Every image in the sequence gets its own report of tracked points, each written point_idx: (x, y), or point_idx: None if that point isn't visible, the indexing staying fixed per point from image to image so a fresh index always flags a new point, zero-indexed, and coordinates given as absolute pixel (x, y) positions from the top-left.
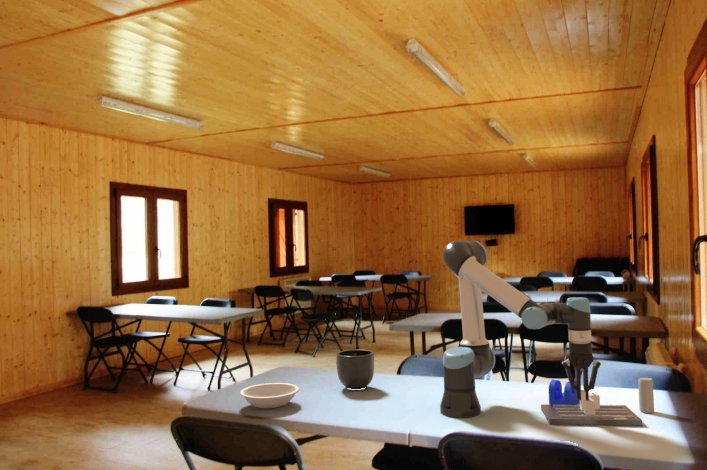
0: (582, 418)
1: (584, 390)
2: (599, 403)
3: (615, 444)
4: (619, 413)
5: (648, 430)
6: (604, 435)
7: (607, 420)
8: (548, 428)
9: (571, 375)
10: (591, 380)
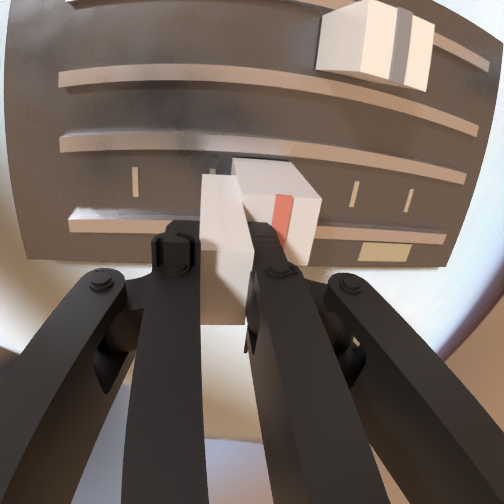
0: None
1: (246, 300)
2: (387, 83)
3: (245, 401)
4: (426, 174)
5: (418, 293)
6: (242, 351)
7: (317, 264)
8: (38, 286)
9: (71, 486)
10: (356, 406)
